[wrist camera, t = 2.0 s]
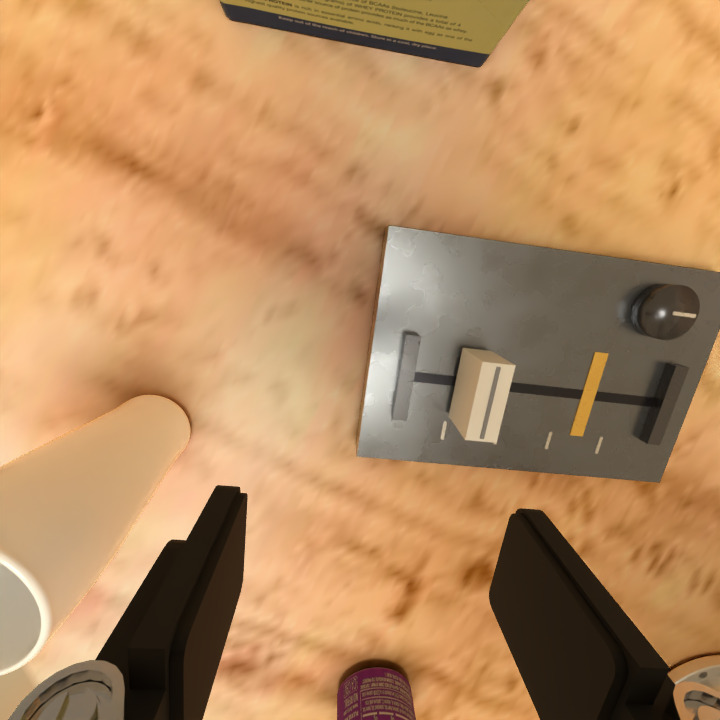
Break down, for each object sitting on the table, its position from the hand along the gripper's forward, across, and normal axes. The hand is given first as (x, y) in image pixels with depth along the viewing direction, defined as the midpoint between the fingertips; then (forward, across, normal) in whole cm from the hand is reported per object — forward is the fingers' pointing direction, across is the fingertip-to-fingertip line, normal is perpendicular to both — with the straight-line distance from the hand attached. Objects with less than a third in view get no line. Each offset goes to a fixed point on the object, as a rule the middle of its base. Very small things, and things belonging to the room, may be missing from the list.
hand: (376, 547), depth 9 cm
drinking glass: (+18, +14, +6) cm, 24 cm away
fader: (+15, -8, 0) cm, 17 cm away
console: (+18, -13, -2) cm, 22 cm away
